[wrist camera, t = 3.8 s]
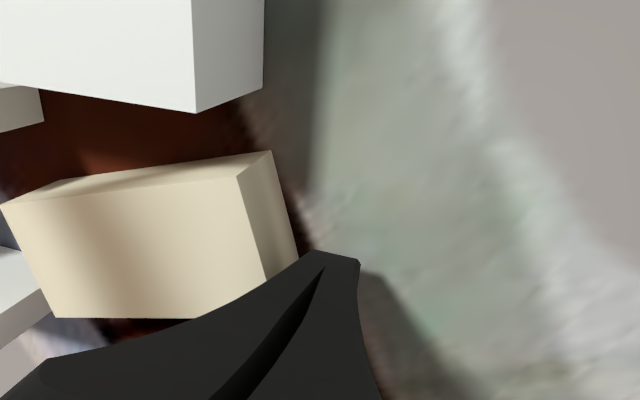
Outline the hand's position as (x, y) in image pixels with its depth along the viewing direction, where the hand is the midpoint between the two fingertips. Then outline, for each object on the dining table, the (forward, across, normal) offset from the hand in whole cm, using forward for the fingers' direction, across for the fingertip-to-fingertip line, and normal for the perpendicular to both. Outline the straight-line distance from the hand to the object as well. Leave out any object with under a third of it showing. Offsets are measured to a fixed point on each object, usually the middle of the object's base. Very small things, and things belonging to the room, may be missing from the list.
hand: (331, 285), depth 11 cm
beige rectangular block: (+2, +6, 0) cm, 6 cm away
